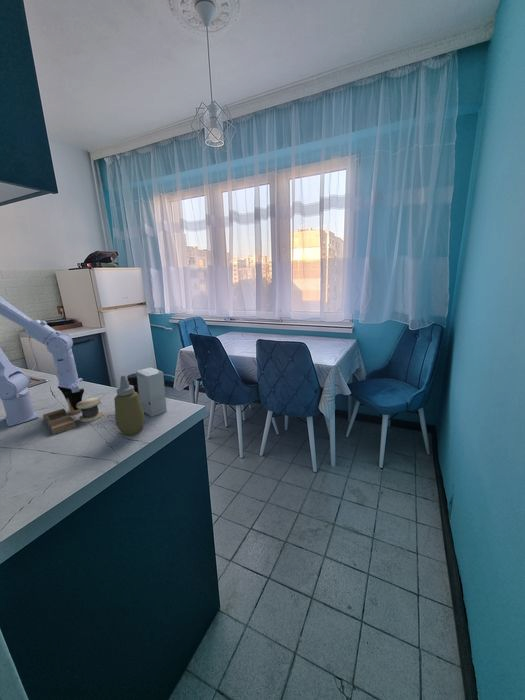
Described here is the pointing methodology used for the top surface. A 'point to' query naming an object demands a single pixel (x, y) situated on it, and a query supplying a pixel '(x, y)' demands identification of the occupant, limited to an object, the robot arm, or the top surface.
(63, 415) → the notched board
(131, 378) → the supplement bottle
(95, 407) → the spool
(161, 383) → the skincare box
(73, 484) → the top surface
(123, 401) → the squeeze bottle
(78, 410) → the brown wooden block
